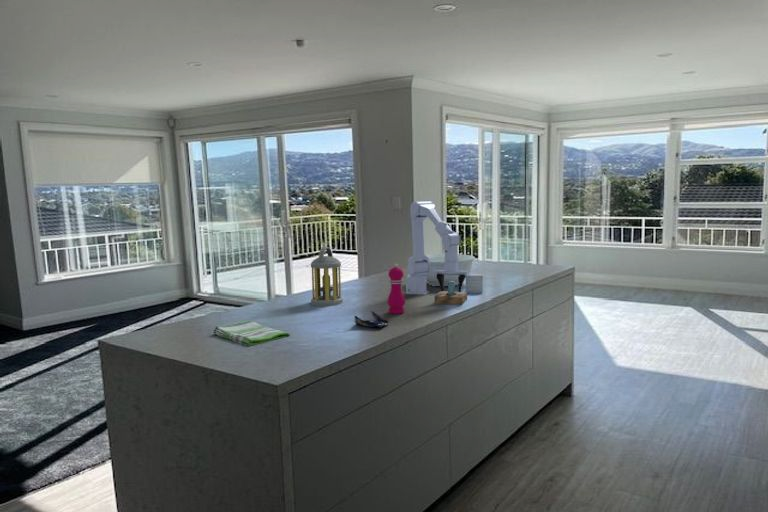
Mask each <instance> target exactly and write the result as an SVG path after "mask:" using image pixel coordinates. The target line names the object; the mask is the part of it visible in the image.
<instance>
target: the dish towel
mask: <svg viewBox="0 0 768 512" xmlns="http://www.w3.org/2000/svg"><path fill="white" fill-rule="evenodd" d="M212 333H213V334H214V336H218V337H221V338H224V339H227V340H229V341H232V342H235V343H238V344H242V345H245V346H249V347H251V346H256V345H260V344H264V343H267V342H271V341H275V340H279V339H284V338H288V337H290V336H291V334H290V333H289V332H285V331H282V330H279V329H278V330H277V329H275V328H271V327H268V326H265V325H262V324H259V323H257V322H255V321H253V320H245V321H238V322H236V323H229V324H223V325H215V327H214V330H213V331H212Z"/></svg>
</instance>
